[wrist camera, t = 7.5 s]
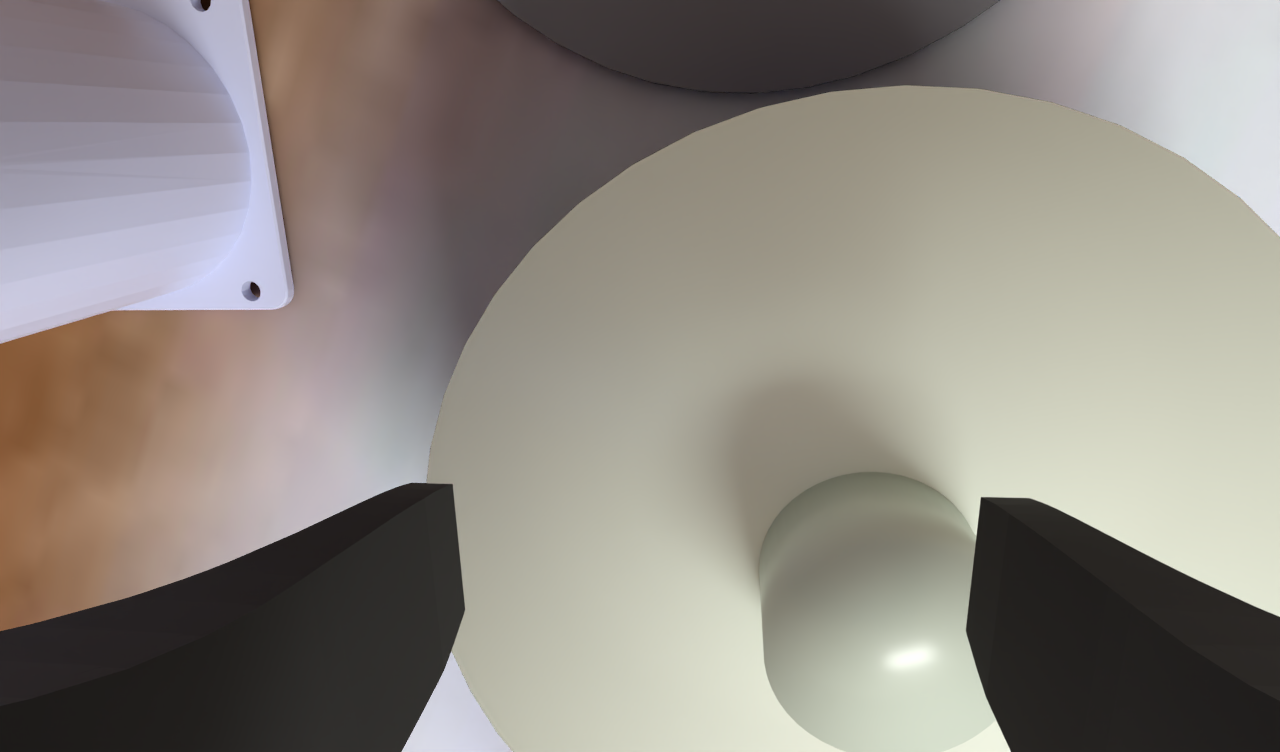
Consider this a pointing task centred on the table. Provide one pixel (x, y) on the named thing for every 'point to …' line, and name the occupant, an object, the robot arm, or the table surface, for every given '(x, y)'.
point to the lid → (846, 417)
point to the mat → (745, 37)
